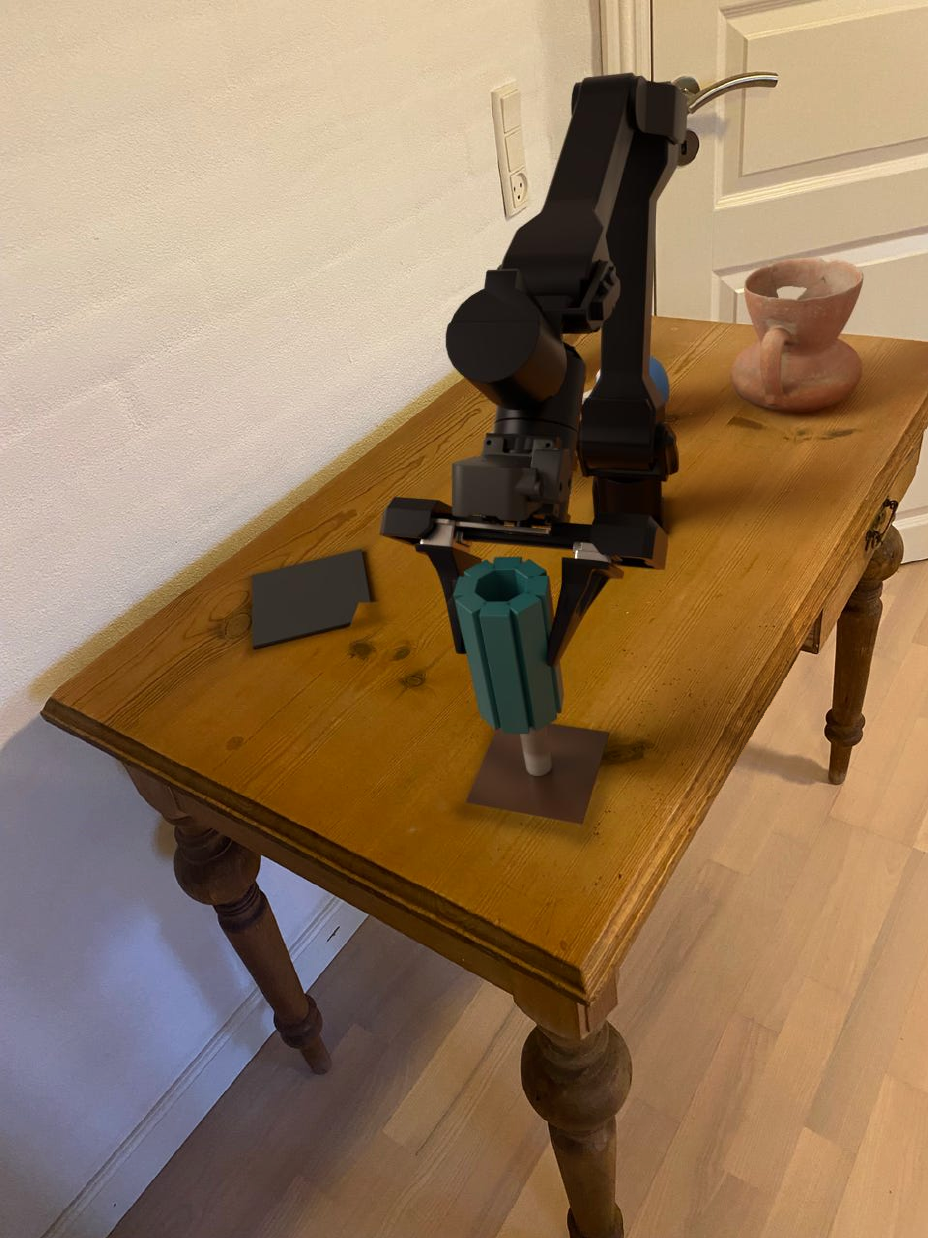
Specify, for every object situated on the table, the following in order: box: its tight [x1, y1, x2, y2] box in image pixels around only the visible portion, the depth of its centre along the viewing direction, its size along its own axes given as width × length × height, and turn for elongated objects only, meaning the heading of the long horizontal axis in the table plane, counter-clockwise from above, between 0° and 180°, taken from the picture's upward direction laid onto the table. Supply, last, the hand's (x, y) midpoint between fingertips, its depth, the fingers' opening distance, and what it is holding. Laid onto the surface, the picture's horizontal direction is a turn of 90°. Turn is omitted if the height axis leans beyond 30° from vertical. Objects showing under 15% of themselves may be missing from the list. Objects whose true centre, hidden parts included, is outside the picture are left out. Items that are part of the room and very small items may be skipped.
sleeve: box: [454, 556, 565, 734], centre depth 61 cm, size 6×6×11 cm
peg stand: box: [465, 723, 610, 826], centre depth 67 cm, size 9×9×6 cm
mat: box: [251, 548, 372, 650], centre depth 91 cm, size 12×12×1 cm
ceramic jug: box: [729, 257, 864, 413], centre depth 101 cm, size 18×14×14 cm
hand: (505, 660), depth 60 cm, fingers closed on sleeve, 6 cm apart
